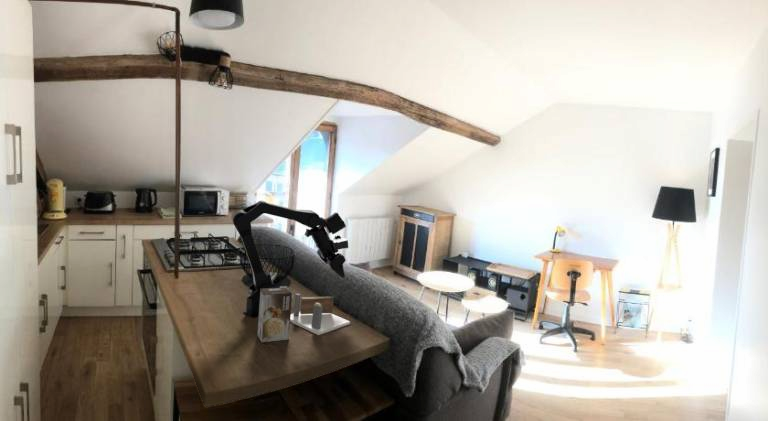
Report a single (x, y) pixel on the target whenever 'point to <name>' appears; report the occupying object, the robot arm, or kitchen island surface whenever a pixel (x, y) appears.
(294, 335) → the kitchen island surface
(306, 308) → the gate
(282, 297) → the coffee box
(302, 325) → the gate frame
